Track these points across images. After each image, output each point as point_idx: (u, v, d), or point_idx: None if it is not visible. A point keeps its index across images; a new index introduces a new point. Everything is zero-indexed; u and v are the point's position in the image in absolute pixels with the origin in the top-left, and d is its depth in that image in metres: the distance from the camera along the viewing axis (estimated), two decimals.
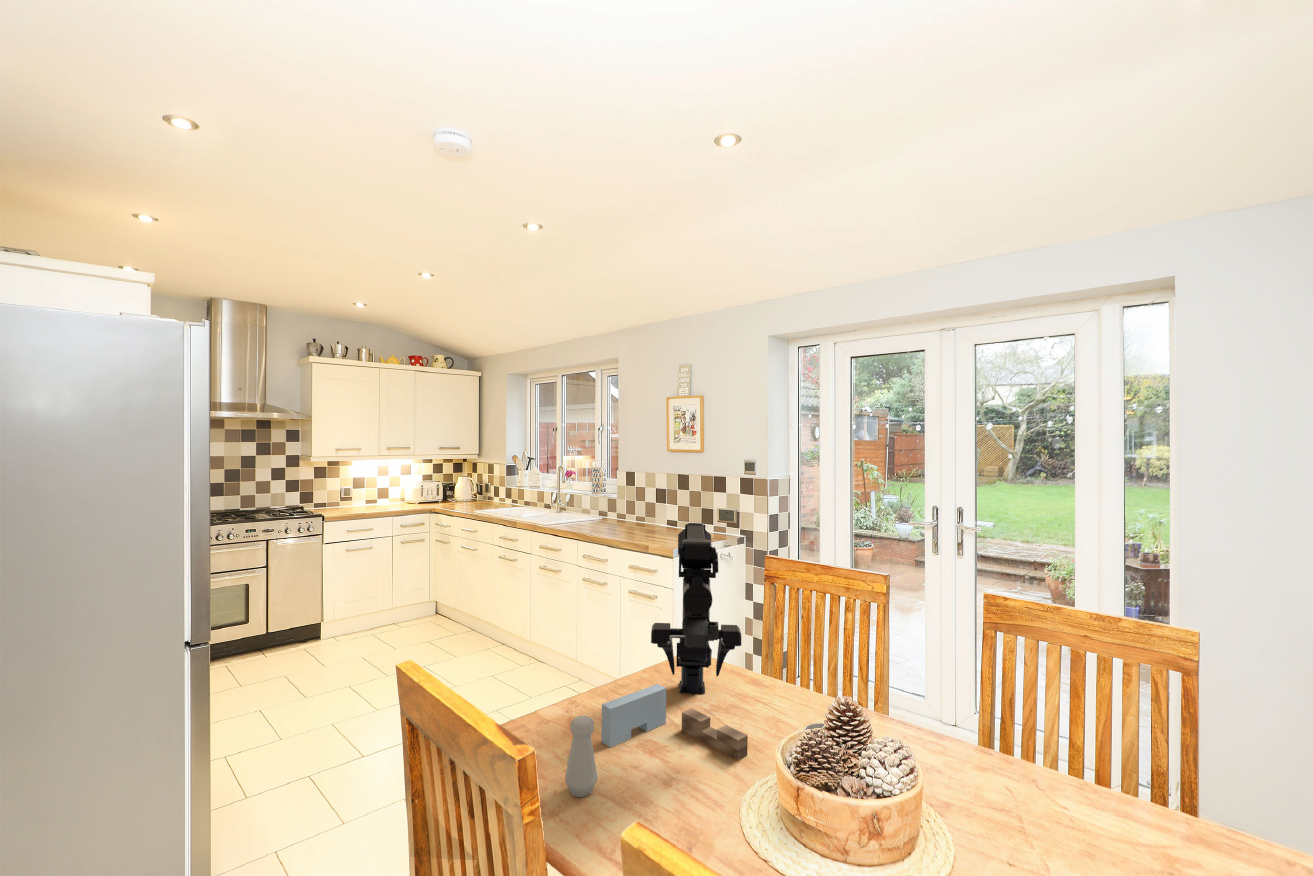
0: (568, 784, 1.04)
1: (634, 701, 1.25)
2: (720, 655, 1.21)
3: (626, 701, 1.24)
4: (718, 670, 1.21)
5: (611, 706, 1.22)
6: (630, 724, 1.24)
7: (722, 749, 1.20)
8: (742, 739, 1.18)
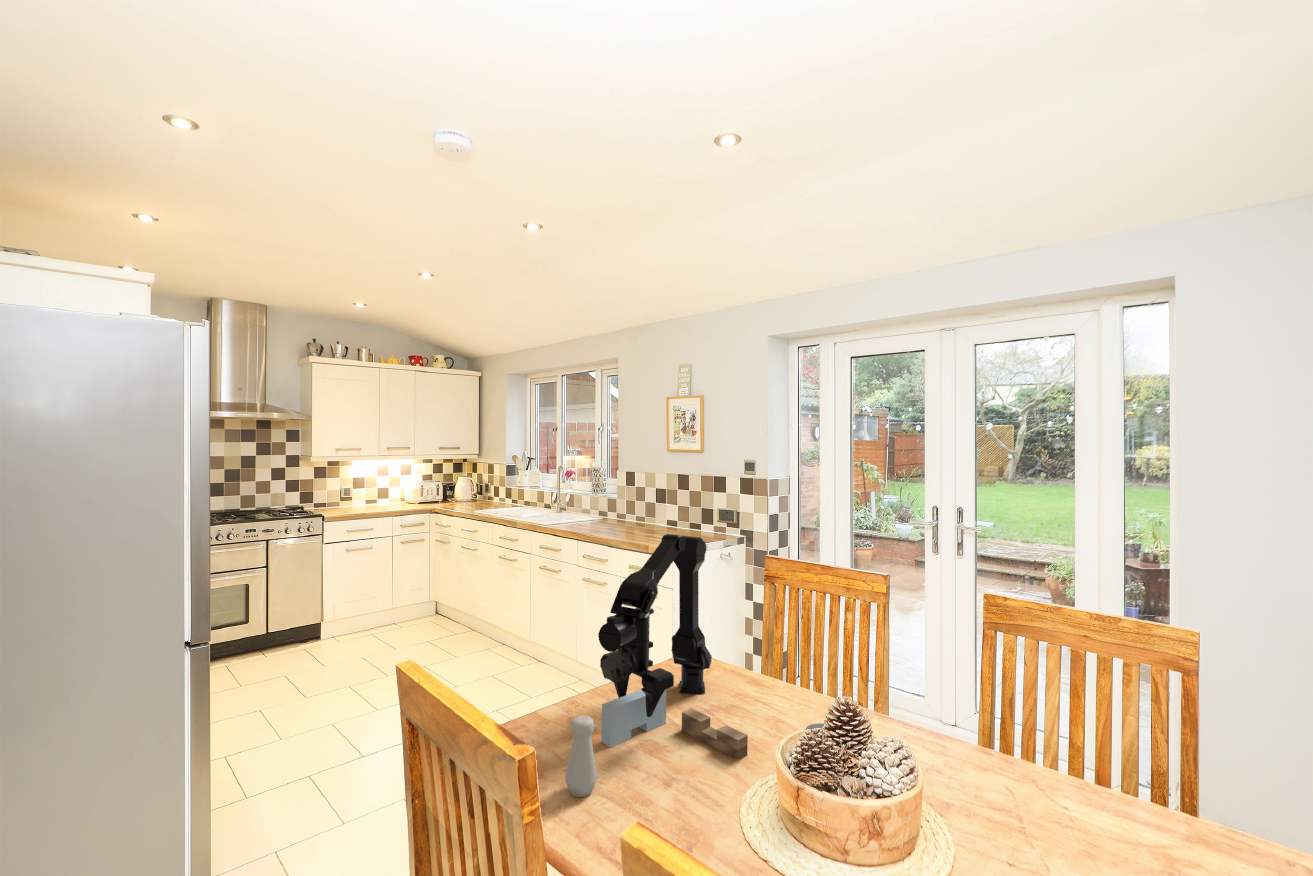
0: (568, 784, 1.04)
1: (634, 701, 1.25)
2: (646, 697, 1.23)
3: (626, 701, 1.24)
4: (647, 711, 1.23)
5: (611, 706, 1.22)
6: (630, 724, 1.24)
7: (722, 749, 1.20)
8: (742, 739, 1.18)
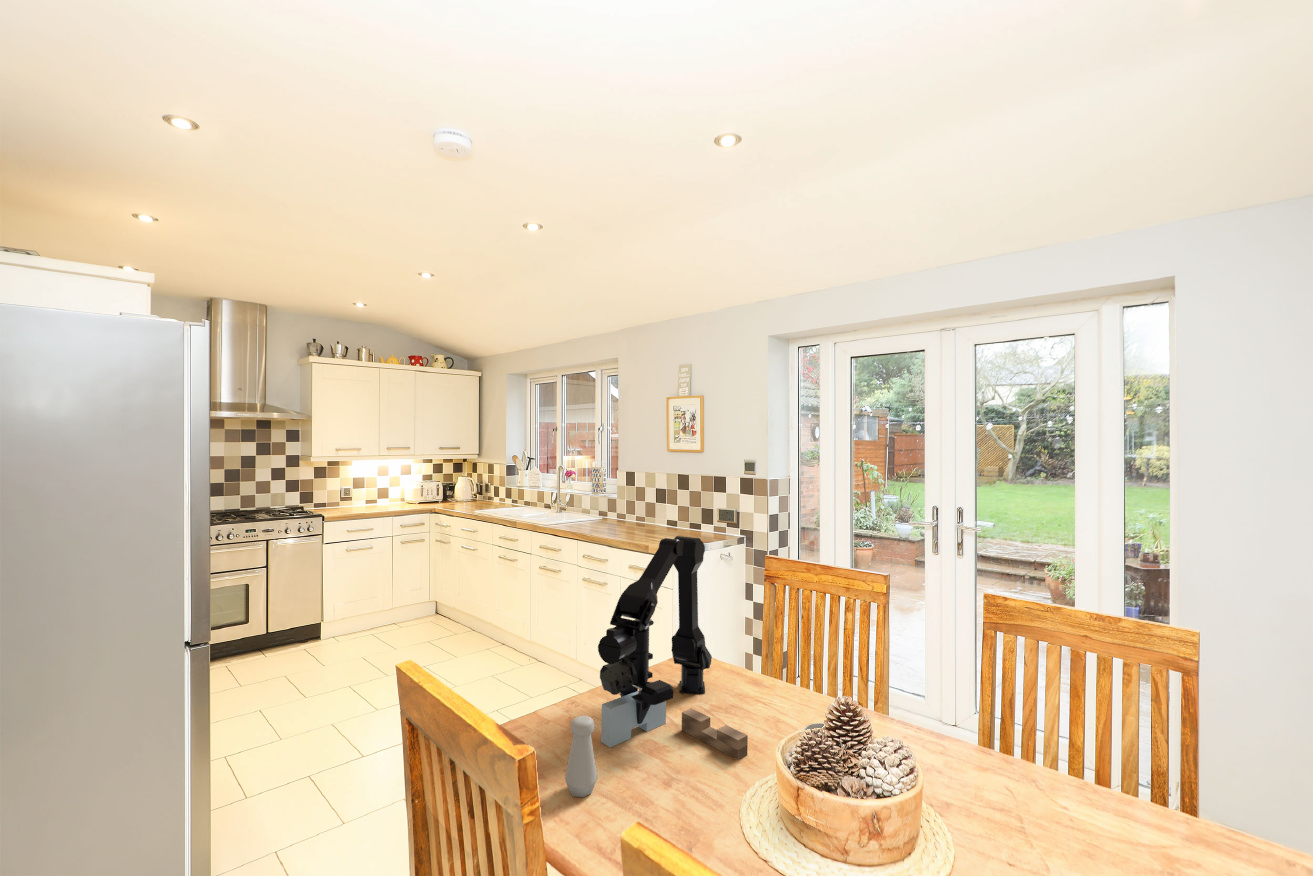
0: (568, 784, 1.04)
1: (634, 701, 1.25)
2: (636, 704, 1.25)
3: (626, 701, 1.24)
4: (637, 718, 1.25)
5: (611, 706, 1.22)
6: (630, 724, 1.24)
7: (722, 749, 1.20)
8: (742, 739, 1.18)
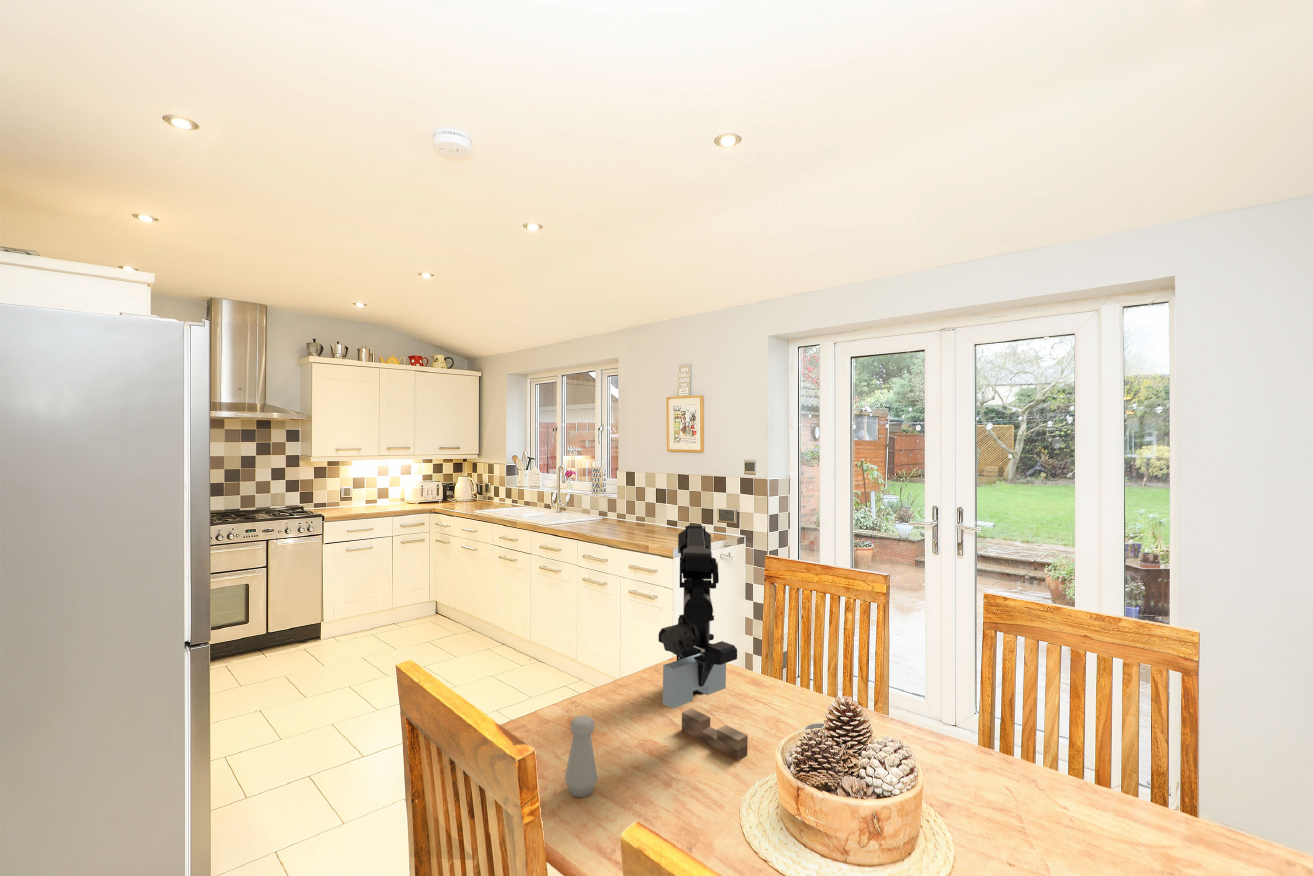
0: (568, 784, 1.04)
1: (695, 662, 1.22)
2: (698, 666, 1.22)
3: (687, 663, 1.21)
4: (699, 680, 1.22)
5: (673, 667, 1.19)
6: (691, 686, 1.21)
7: (722, 749, 1.20)
8: (742, 739, 1.18)
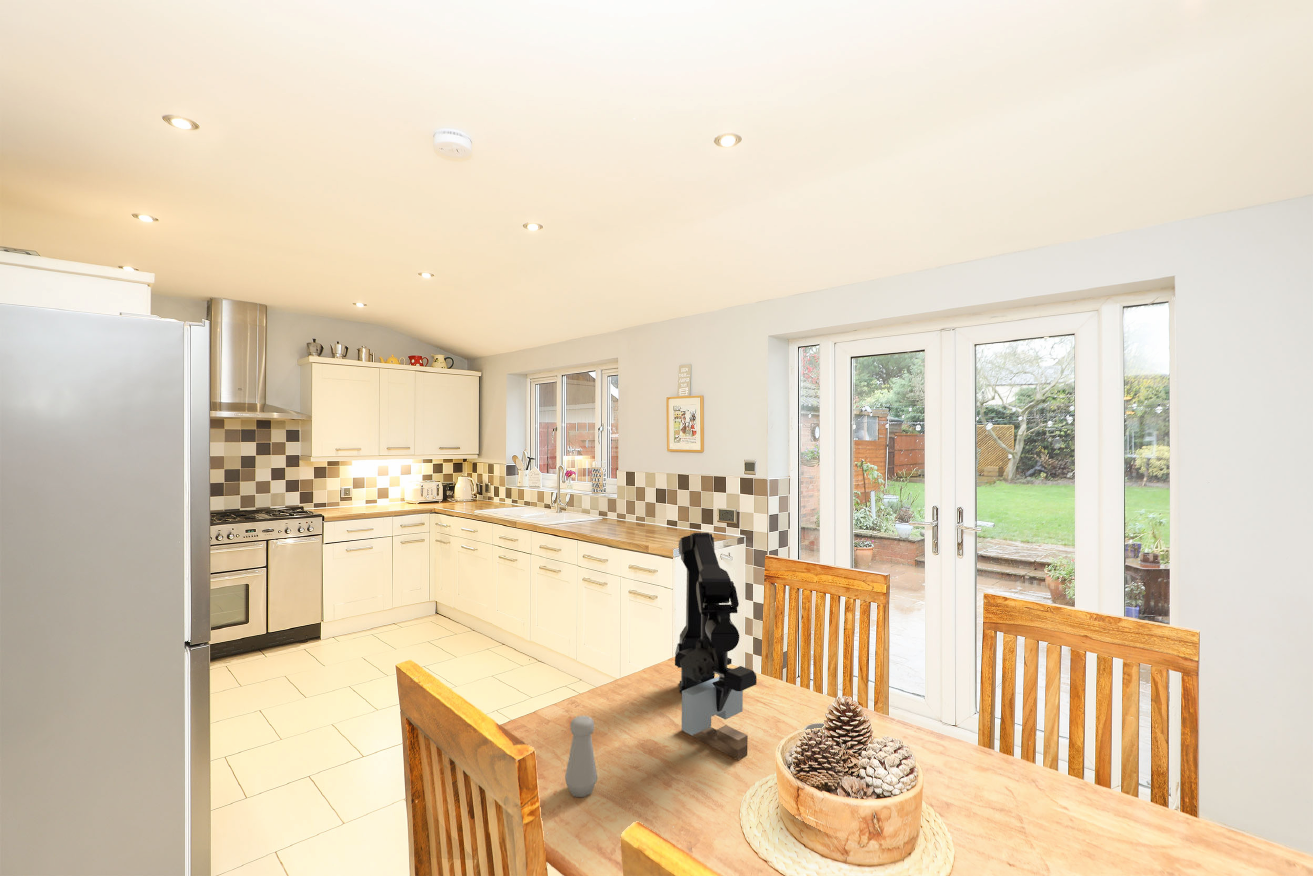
0: (568, 784, 1.04)
1: (714, 687, 1.21)
2: (717, 691, 1.21)
3: (706, 688, 1.21)
4: (717, 705, 1.22)
5: (693, 693, 1.18)
6: (710, 712, 1.21)
7: (722, 749, 1.20)
8: (742, 739, 1.18)
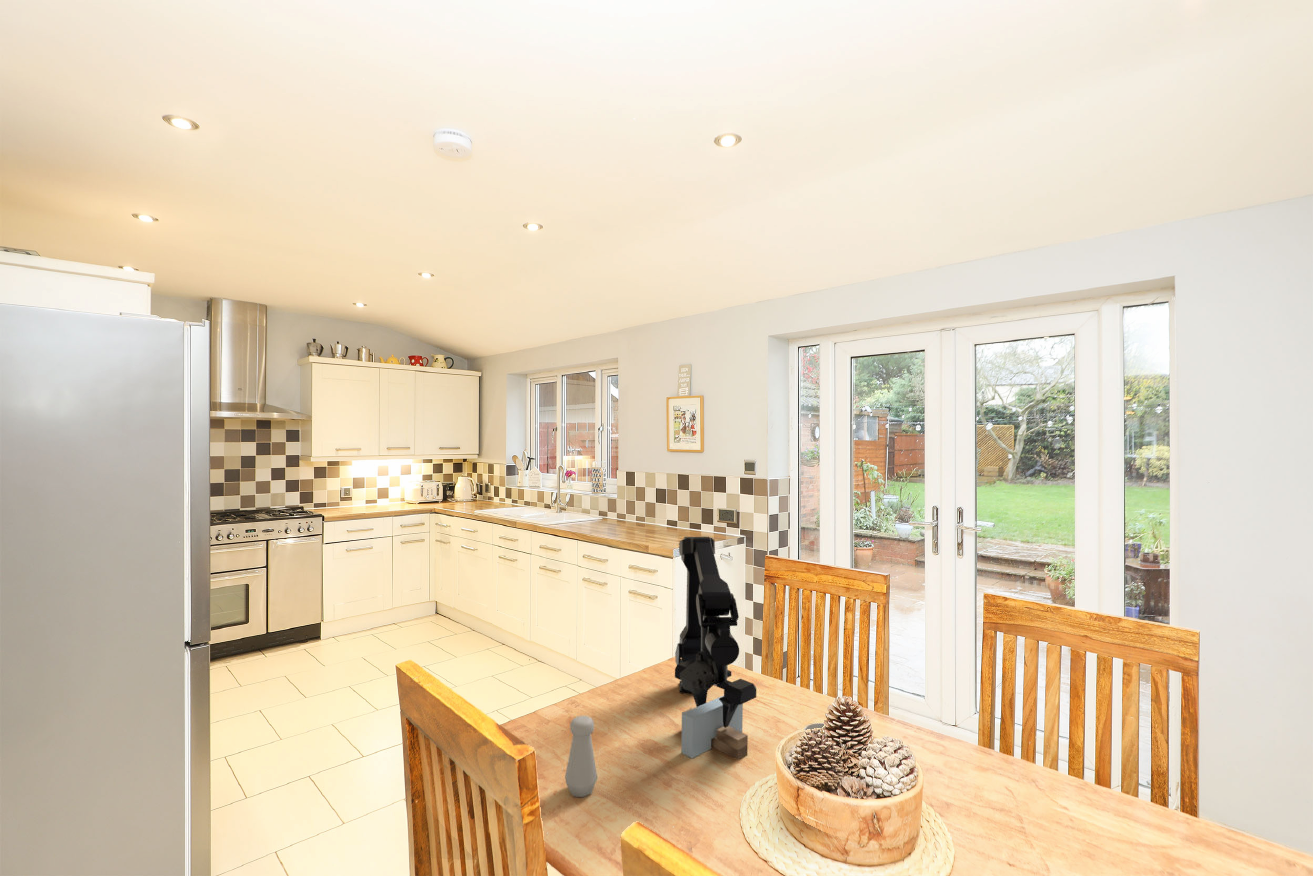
0: (568, 784, 1.04)
1: (713, 710, 1.21)
2: (723, 706, 1.20)
3: (706, 710, 1.21)
4: (724, 721, 1.20)
5: (693, 716, 1.18)
6: (710, 734, 1.21)
7: (722, 749, 1.20)
8: (742, 739, 1.18)
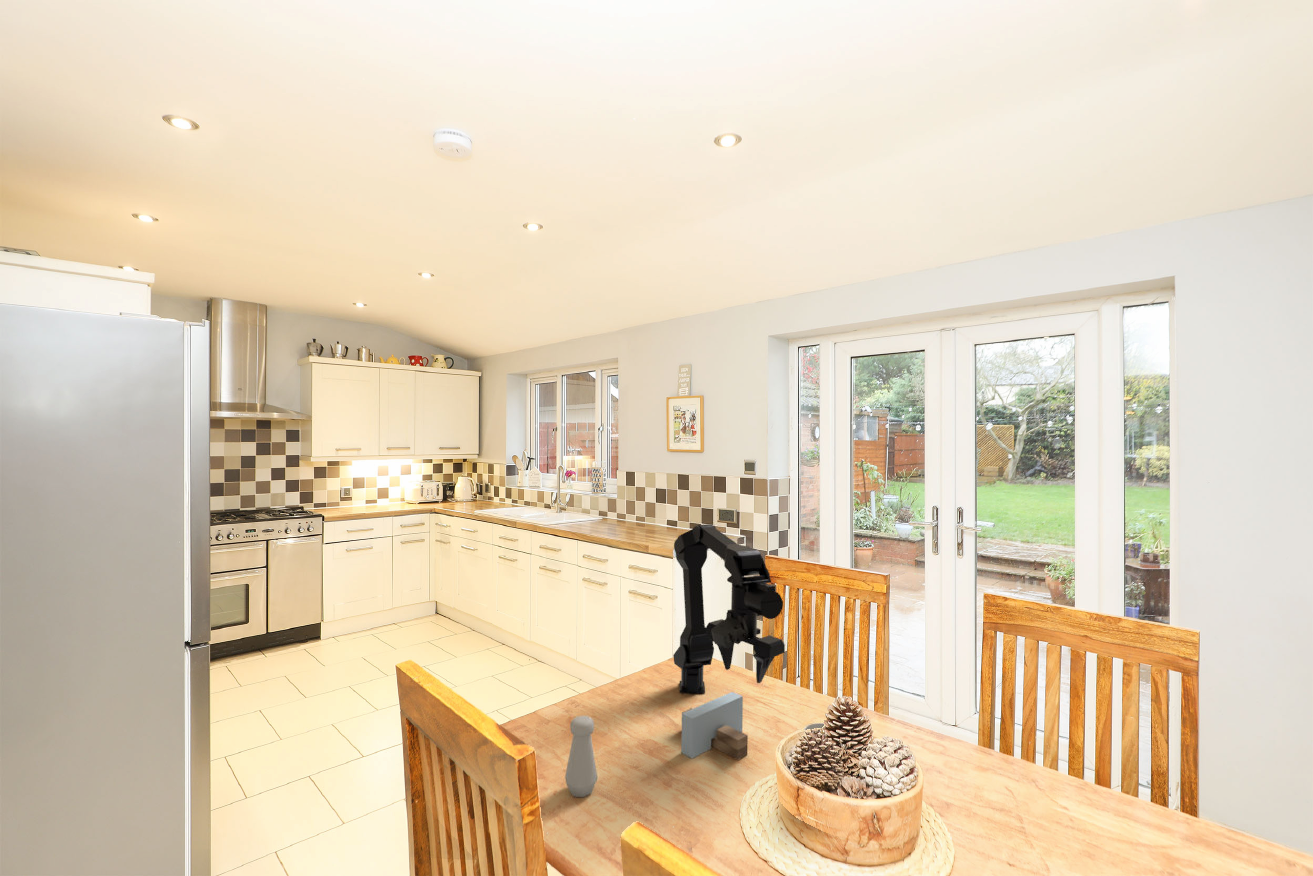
0: (568, 784, 1.04)
1: (713, 710, 1.21)
2: (757, 663, 1.25)
3: (706, 710, 1.21)
4: (757, 677, 1.25)
5: (693, 716, 1.18)
6: (710, 734, 1.21)
7: (722, 749, 1.20)
8: (742, 739, 1.18)
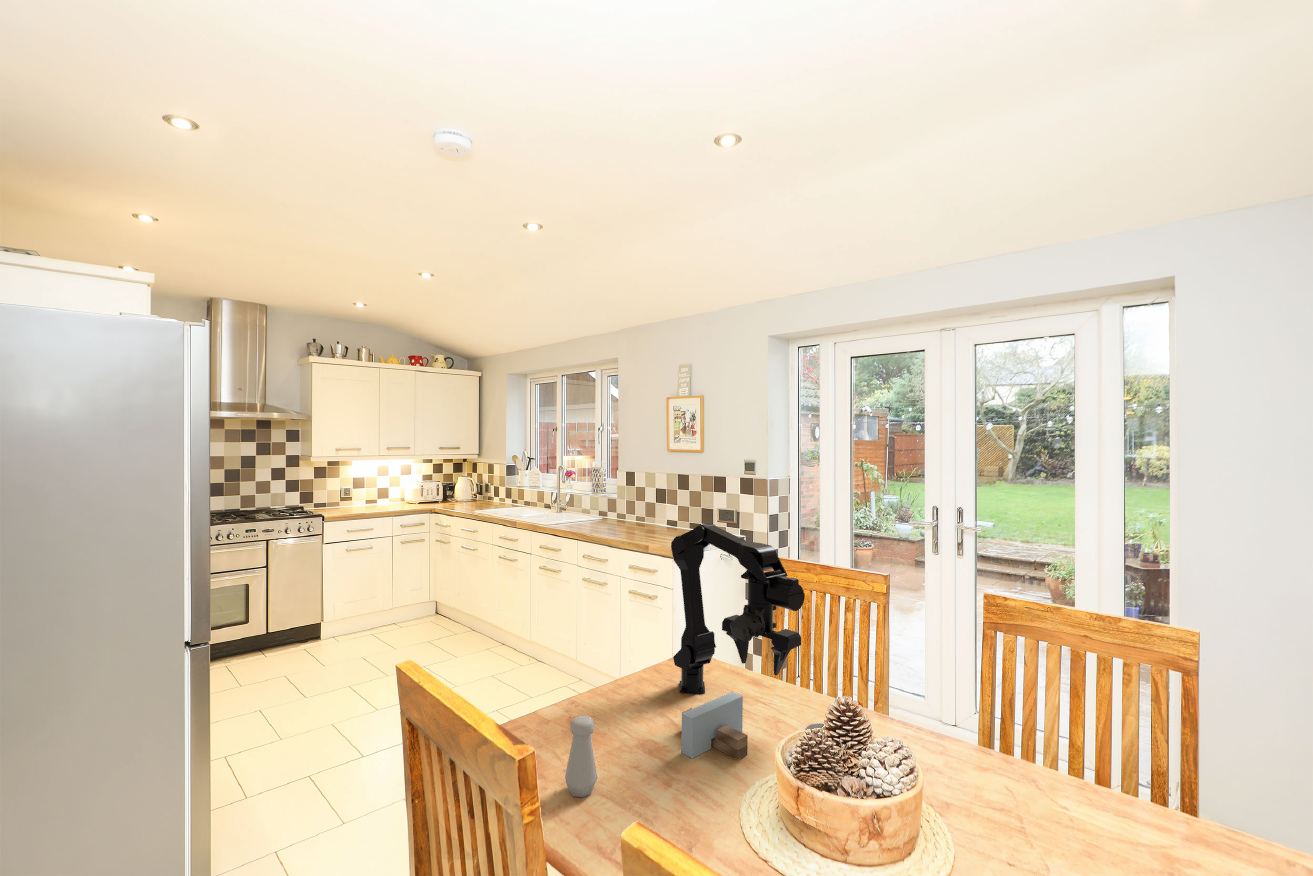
0: (568, 784, 1.04)
1: (713, 710, 1.21)
2: (774, 655, 1.28)
3: (706, 710, 1.21)
4: (774, 669, 1.29)
5: (693, 716, 1.18)
6: (710, 734, 1.21)
7: (722, 749, 1.20)
8: (742, 739, 1.18)
